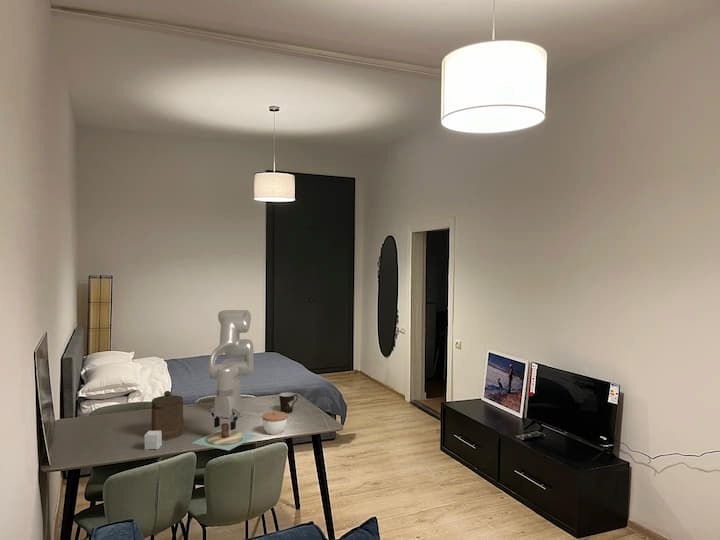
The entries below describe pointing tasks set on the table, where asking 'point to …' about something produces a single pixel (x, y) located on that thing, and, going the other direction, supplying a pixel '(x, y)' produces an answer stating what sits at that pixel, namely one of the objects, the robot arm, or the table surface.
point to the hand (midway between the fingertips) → (225, 428)
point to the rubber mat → (226, 447)
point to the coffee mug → (287, 402)
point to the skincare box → (153, 439)
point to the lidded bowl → (274, 422)
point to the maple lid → (225, 436)
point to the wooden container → (168, 415)
